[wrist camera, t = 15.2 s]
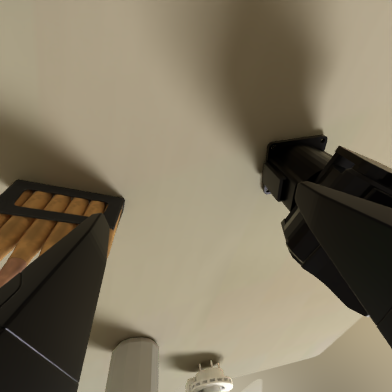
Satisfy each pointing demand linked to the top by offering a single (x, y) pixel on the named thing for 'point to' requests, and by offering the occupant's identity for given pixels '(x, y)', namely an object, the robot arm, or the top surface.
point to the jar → (134, 366)
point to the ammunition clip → (46, 220)
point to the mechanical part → (209, 381)
